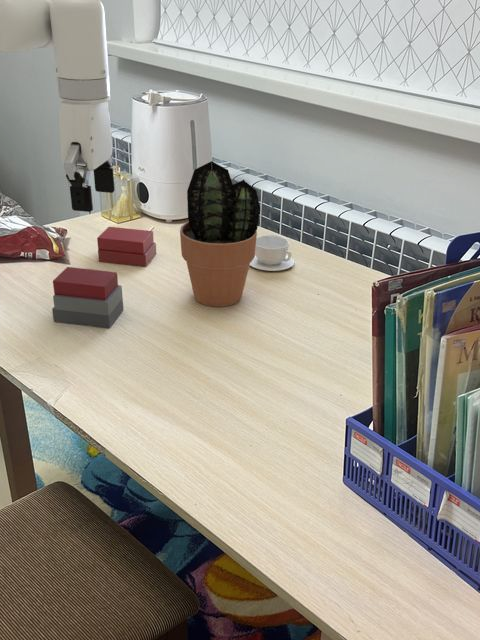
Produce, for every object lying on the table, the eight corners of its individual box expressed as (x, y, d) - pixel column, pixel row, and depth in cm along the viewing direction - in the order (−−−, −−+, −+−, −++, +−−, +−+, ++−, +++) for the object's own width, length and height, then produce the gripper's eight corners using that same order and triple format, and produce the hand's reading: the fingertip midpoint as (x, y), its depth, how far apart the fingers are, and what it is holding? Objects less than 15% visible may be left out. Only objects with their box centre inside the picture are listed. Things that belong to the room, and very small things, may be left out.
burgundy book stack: (98, 261, 141) (96, 238, 138) (110, 248, 146) (108, 226, 144) (146, 266, 139) (144, 243, 137) (156, 253, 145) (155, 231, 143)
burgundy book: (54, 294, 116) (52, 280, 115) (68, 279, 121) (67, 266, 120) (105, 300, 115) (104, 286, 114) (118, 285, 120) (117, 272, 119)
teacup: (236, 263, 143) (236, 242, 140) (265, 249, 150) (266, 229, 147) (275, 277, 138) (276, 255, 135) (303, 262, 144) (305, 241, 142)
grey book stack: (53, 322, 118) (49, 295, 115) (70, 303, 124) (67, 278, 122) (109, 328, 117) (107, 302, 114) (124, 310, 123) (122, 284, 120)
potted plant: (216, 320, 121) (217, 179, 108) (166, 295, 129) (161, 160, 116) (269, 297, 130) (276, 164, 117) (219, 274, 137) (220, 148, 125)
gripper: (82, 78, 111) (91, 183, 119) (34, 98, 96) (49, 216, 104) (127, 81, 110) (133, 187, 118) (86, 101, 95) (97, 221, 104)
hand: (94, 200), depth 111 cm, fingers open, 9 cm apart
